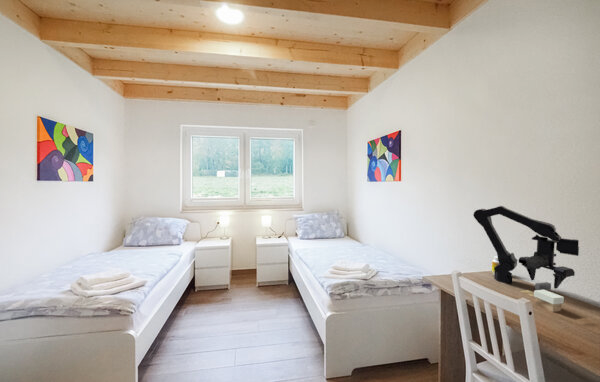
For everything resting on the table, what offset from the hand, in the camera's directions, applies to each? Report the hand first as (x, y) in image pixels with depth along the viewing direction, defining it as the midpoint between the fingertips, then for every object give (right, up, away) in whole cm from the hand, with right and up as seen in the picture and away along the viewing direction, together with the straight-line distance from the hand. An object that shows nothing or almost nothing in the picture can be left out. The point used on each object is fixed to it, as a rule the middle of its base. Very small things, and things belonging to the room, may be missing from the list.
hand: (543, 284), depth 116 cm
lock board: (-10, -5, -9) cm, 14 cm away
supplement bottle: (-4, -4, +22) cm, 23 cm away
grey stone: (0, -5, 0) cm, 5 cm away
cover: (-12, -1, -15) cm, 19 cm away
